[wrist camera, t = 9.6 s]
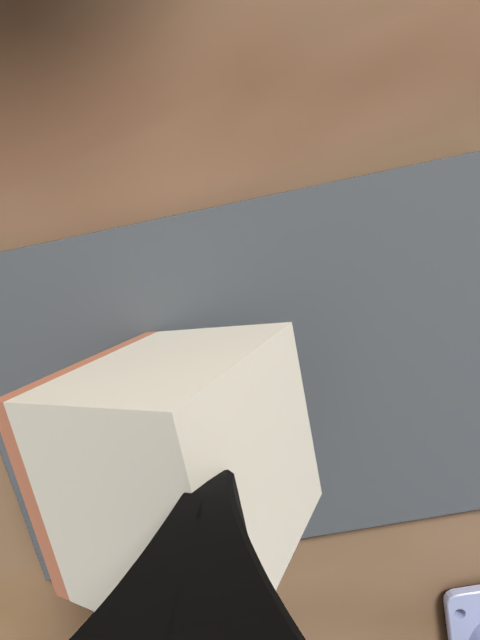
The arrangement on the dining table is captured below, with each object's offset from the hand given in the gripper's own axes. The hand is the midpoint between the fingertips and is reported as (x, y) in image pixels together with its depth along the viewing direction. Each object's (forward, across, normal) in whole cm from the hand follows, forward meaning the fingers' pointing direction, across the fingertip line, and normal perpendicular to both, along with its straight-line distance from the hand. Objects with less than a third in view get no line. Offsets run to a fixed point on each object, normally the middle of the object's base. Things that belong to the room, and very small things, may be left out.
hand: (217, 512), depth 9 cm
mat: (+8, 0, 0) cm, 8 cm away
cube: (+2, -1, 0) cm, 2 cm away
